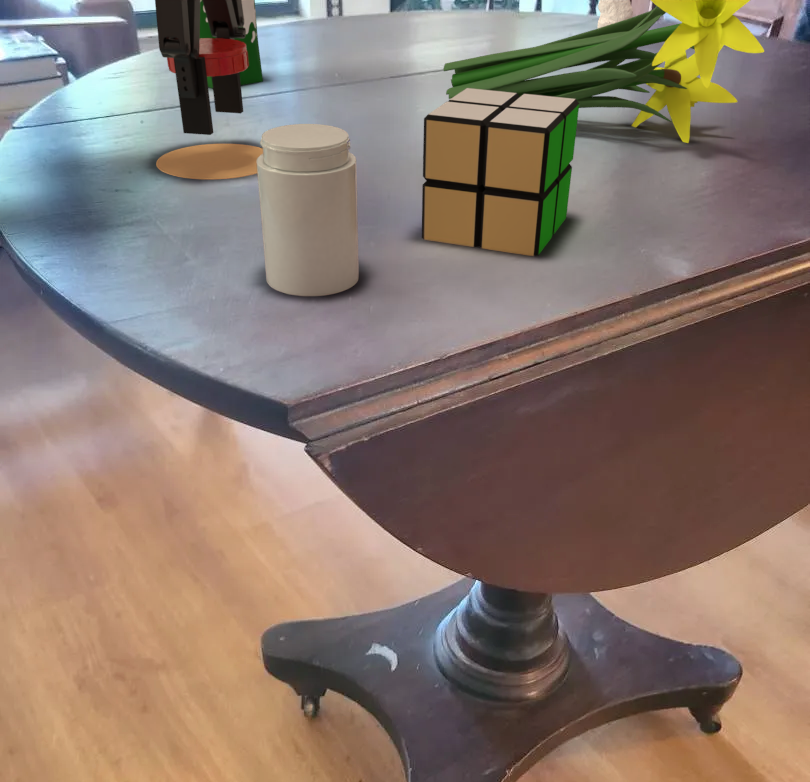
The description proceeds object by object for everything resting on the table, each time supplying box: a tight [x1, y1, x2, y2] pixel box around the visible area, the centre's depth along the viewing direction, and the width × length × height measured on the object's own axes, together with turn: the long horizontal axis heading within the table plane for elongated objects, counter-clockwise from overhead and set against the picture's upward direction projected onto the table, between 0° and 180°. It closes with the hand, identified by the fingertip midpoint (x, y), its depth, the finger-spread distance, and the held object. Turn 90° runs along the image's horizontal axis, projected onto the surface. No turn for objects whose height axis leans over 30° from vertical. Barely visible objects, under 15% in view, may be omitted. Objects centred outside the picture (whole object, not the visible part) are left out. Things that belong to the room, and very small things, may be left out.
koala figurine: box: [597, 0, 634, 29], centre depth 139 cm, size 8×7×12 cm
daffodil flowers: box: [442, 0, 765, 144], centre depth 100 cm, size 17×15×35 cm
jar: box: [256, 123, 360, 297], centre depth 68 cm, size 7×7×11 cm
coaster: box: [155, 143, 263, 180], centre depth 94 cm, size 12×12×1 cm
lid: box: [166, 38, 249, 77], centre depth 88 cm, size 7×7×2 cm
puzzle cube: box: [421, 88, 580, 257], centre depth 77 cm, size 10×10×10 cm
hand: (214, 121), depth 92 cm, fingers closed on lid, 7 cm apart
